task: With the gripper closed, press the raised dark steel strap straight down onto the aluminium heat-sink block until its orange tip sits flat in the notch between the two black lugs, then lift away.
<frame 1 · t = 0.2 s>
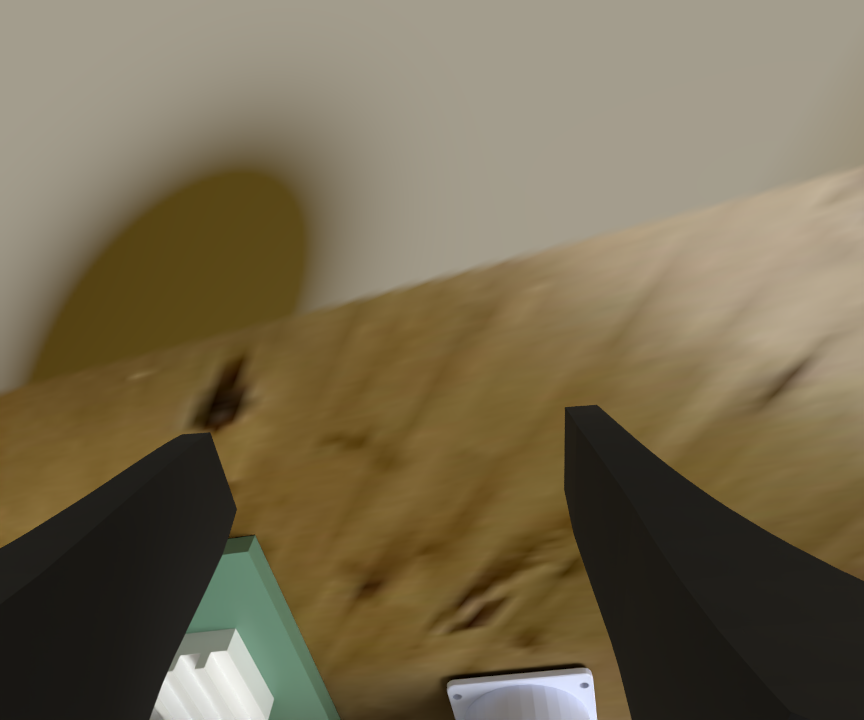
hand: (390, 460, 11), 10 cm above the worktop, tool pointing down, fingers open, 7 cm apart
heatsink base: (202, 654, 30), on the worktop
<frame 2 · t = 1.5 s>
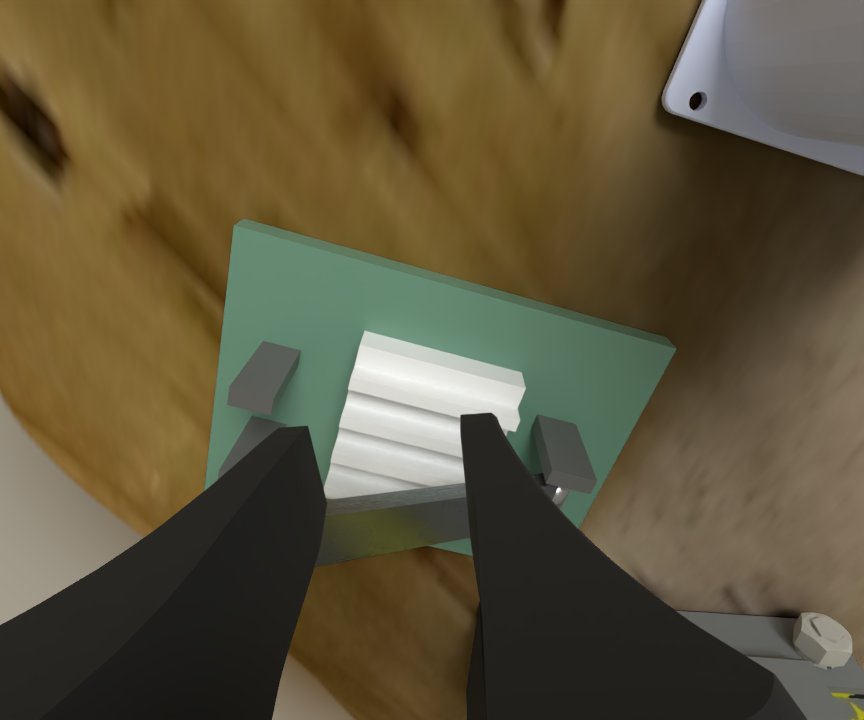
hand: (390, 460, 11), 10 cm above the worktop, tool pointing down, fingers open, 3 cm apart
heatsink base: (420, 414, 22), on the worktop
electrical component: (637, 647, 29), on the worktop
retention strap: (429, 522, 17), point 6 cm above the worktop, hinge at 28.0°
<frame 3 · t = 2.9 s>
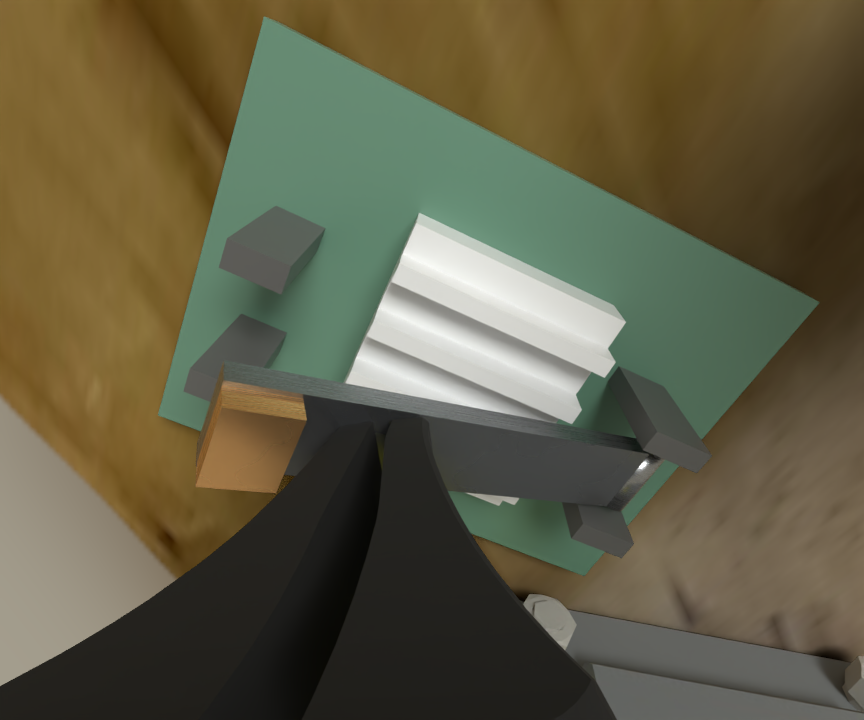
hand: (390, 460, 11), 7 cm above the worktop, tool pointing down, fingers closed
heatsink base: (462, 348, 17), on the worktop
electrical component: (651, 673, 24), on the worktop
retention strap: (475, 458, 12), point 5 cm above the worktop, hinge at 21.2°, touching gripper
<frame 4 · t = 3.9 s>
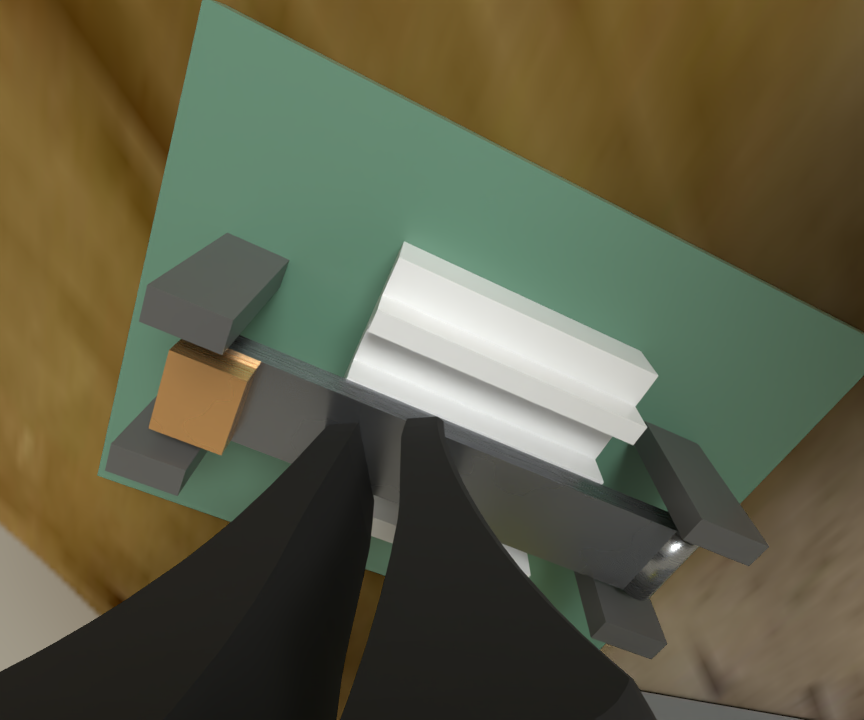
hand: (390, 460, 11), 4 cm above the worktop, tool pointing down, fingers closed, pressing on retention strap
heatsink base: (457, 396, 14), on the worktop
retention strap: (447, 479, 11), point 4 cm above the worktop, hinge at -0.4°, touching gripper, heatsink base
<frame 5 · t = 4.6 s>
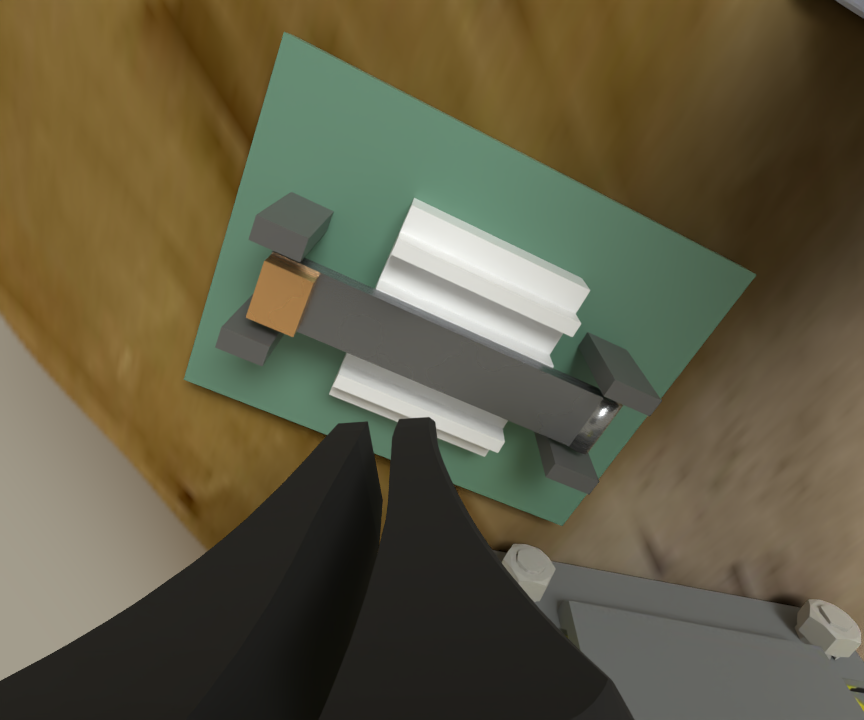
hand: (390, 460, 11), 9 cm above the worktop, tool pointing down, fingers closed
heatsink base: (452, 319, 19), on the worktop
electrical component: (626, 622, 27), on the worktop
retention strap: (444, 360, 16), point 4 cm above the worktop, hinge at -0.4°, touching heatsink base
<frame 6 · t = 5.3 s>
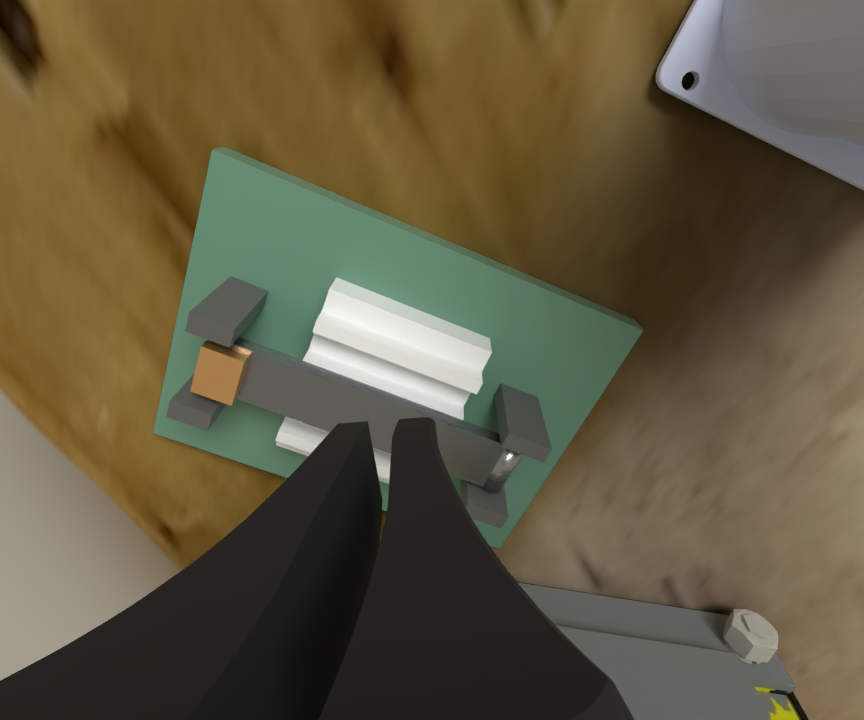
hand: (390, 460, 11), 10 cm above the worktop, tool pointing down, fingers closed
heatsink base: (384, 373, 22), on the worktop
electrical component: (574, 632, 29), on the worktop
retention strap: (365, 418, 19), point 4 cm above the worktop, hinge at -0.4°, touching heatsink base
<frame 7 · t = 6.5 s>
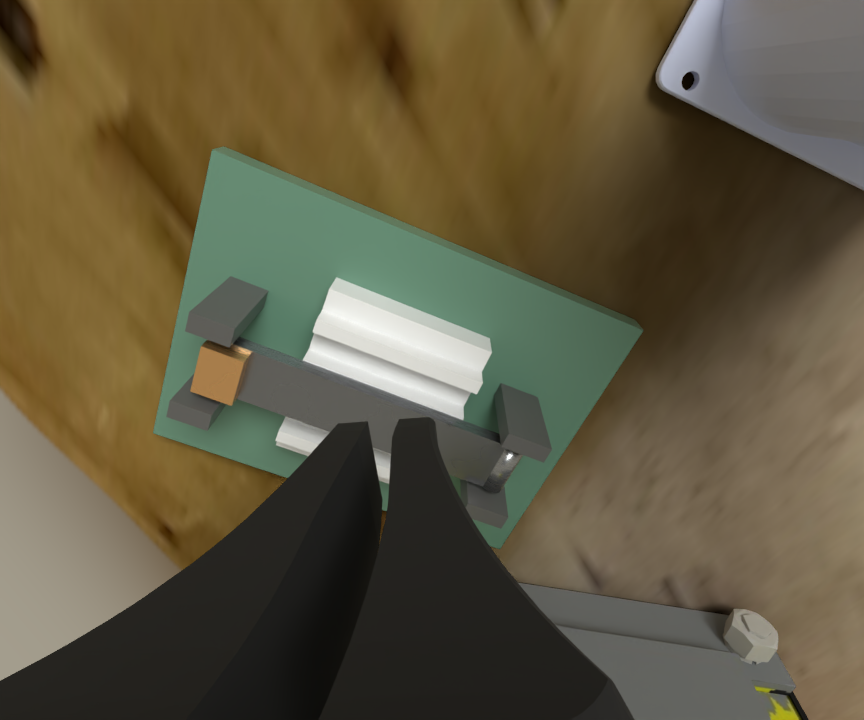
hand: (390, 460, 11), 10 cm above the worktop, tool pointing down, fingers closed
heatsink base: (384, 373, 22), on the worktop
electrical component: (574, 632, 29), on the worktop
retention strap: (365, 418, 19), point 4 cm above the worktop, hinge at -0.4°, touching heatsink base
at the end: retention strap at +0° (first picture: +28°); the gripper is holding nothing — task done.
